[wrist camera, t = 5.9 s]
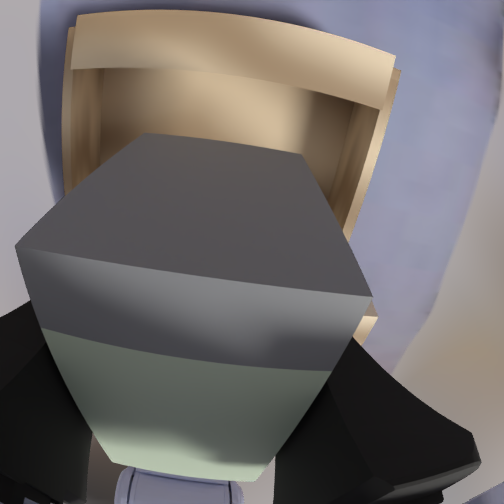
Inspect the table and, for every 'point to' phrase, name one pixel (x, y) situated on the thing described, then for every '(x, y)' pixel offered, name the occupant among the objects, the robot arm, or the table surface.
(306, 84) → the wooden tray
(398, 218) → the table surface
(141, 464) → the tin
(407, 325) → the table surface
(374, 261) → the table surface
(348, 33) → the table surface
